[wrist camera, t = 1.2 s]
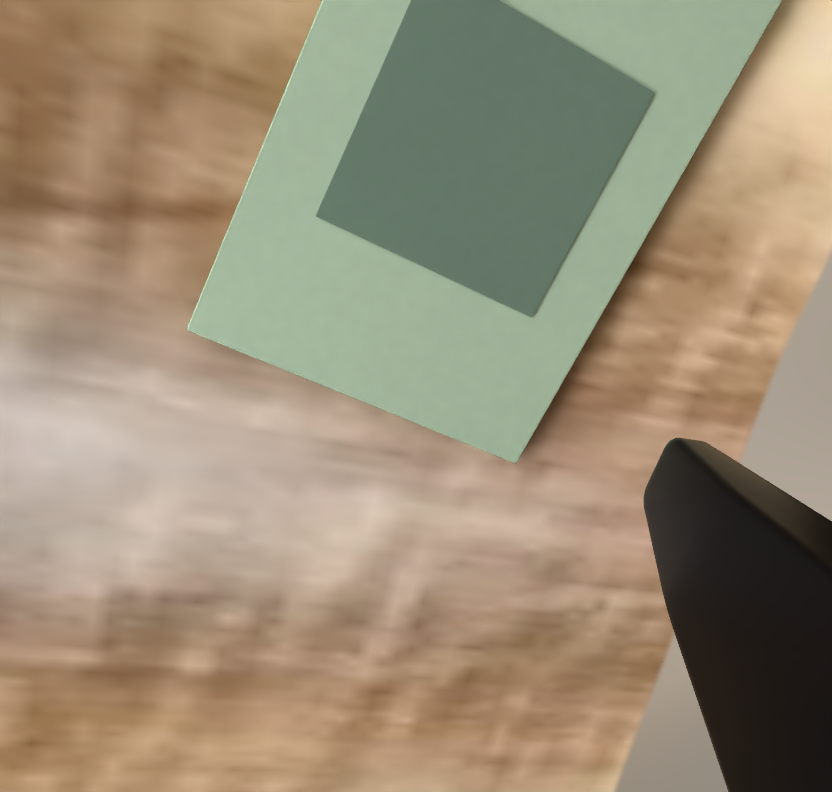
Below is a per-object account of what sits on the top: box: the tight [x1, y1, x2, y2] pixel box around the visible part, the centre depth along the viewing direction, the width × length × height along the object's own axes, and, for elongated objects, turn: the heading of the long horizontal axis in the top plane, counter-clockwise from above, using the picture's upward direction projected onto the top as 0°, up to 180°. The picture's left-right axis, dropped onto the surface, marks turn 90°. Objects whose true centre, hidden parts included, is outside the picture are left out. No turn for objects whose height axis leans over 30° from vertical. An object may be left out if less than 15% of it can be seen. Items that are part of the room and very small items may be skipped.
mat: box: [187, 0, 782, 463], centre depth 22 cm, size 16×11×1 cm
